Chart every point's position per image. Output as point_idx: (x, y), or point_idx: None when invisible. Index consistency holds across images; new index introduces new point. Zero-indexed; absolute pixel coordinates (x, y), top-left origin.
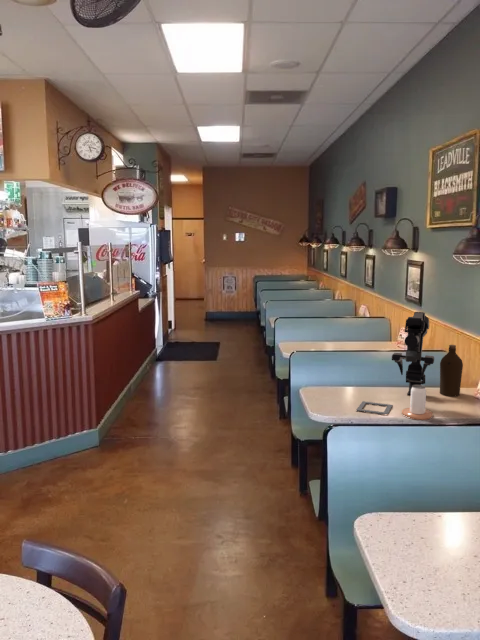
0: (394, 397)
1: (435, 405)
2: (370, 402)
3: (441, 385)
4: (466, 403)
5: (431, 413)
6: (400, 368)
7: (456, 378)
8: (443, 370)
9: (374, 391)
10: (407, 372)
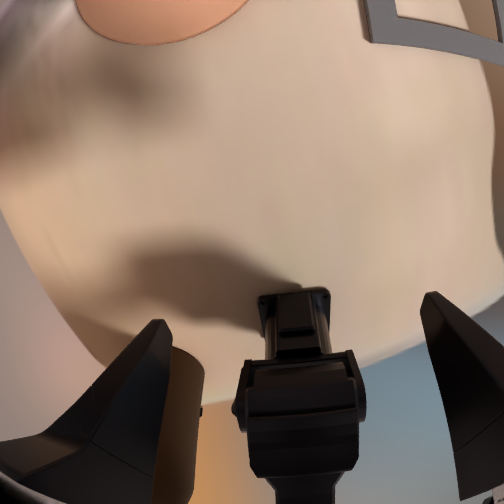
0: (390, 225)
1: (134, 199)
2: (489, 55)
3: (182, 387)
4: (66, 293)
5: (82, 2)
6: (496, 351)
7: None
8: (158, 451)
9: (474, 269)
10: (357, 404)
